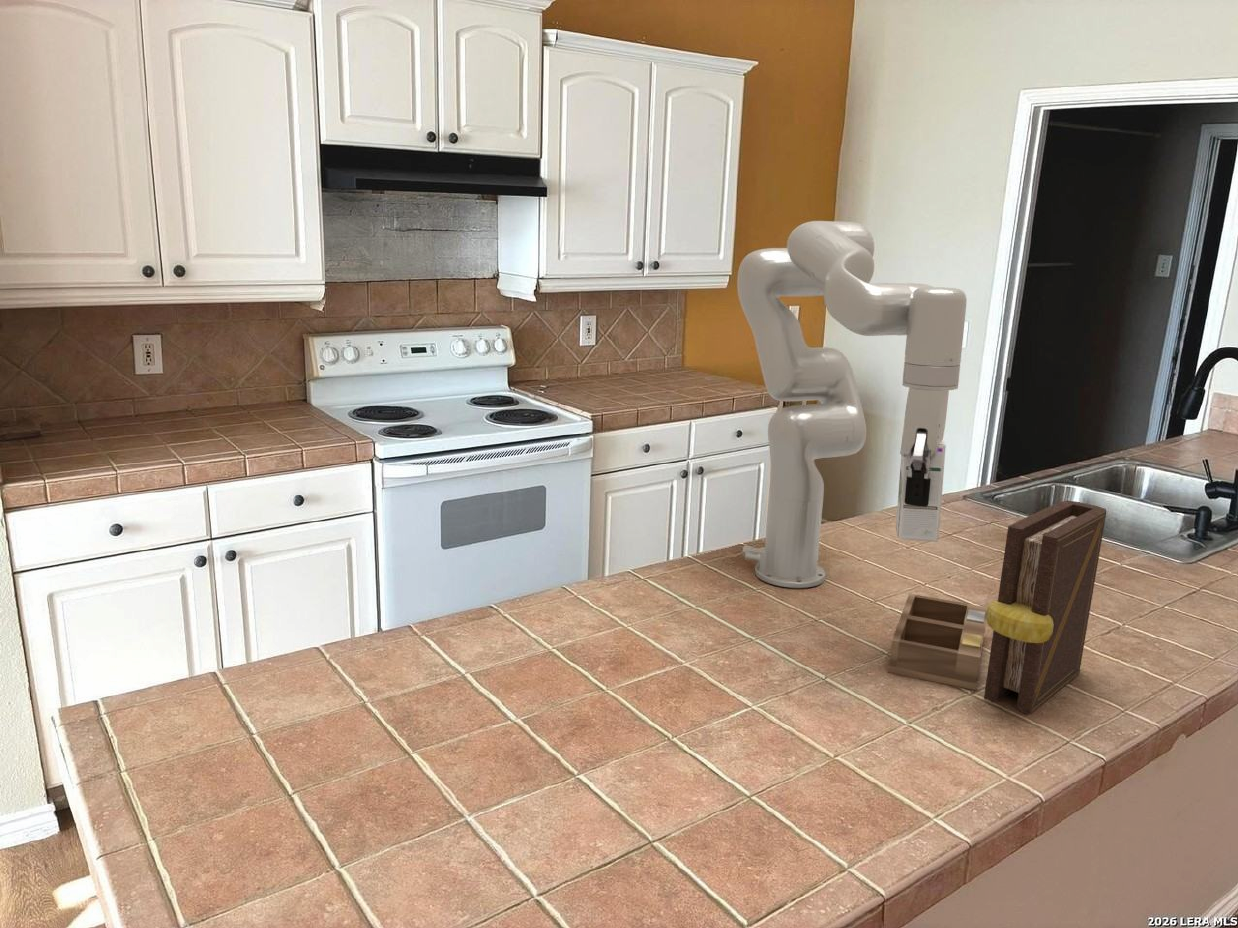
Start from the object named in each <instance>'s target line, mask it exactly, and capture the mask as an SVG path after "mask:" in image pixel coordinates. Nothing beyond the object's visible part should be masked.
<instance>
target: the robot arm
mask: <svg viewBox="0 0 1238 928" xmlns="http://www.w3.org/2000/svg"><path fill="white" fill-rule="evenodd" d="M874 252H875V242H874V238H873V236H872V233H871V232H870V231H869V229H868V228H867V227H866V226H864V225H863V224H861V223H858V222H856V221H835V220H834V221H833V220H832V221H831V220H830V221H828V220H811V221H807V222H804V223H802V224H800V225H798V226H797V227H795V228H794V229H793V230H792V231H791V233H790V234H789V235H788V239H787V242H786V247H770V248H769V247H768V248H761V249H757V250H753V251H752V252H750V253H748V254H747V255H745V256H744V257H743V259H742V261H741V262H740V264H739V268H738V272H737V283H736V284H737V287H736V288H737V295H738V300H739V302H740V303H739V304H740V307H741V310H742V311H743V314H744V316H745V318H746V320H747V323H748V324H749V327H750V329H751V331H752V335H753V337H754V343H755V348H756V352H757V356H758V359H759V360H758V361H759V365H760V369H761V373H762V377H763V381H764V385H765V388H766V391H767V393H768V395H769V396H770V397H771V398H772V399H774V400H775V401H780V402H807V401H809V402H810V401H819V403H820V404H819V403H813V404H811V403H810V404H794V405H789V406H785V407H782V408H780V409H778V410H777V411H775V412H774V413H773V415H772V416H771V418H769V422H768V425H767V440H768V447H769V448H768V449H769V455H770V456H769V457H770V459H769V461H770V470H769V471H770V473H769V474H770V475H769V476H770V479H769V490H768V491H769V492H768V493H769V494H768V507H767V516H766V517H767V519H766V531H765V532H766V534H765V545H764V546H761V547H760V548H759V547H758V548H757V547H754V546H749V545H743V547H742V550H741V551H742V552H741V553H742V554H741V555H742V556H744V559H745V560H746V561H754V562H757V564H756V565H755V567H754V573H755V575H756V576H757V578H758V579H760V580H761V581H763V582H765V583H767V584H771V585H774V586H777V587H783V588H791V589H806V588H813V587H817V586H818V585H820V584H822V583H824V581H825V580H826V571H825V569H824V568H822V566H820V565H818V562H819V561H818V560H819V552H820V551H819V548H820V539H821V538H820V537H821V527H822V515H823V505H824V504H823V503H824V494H825V491H824V490H825V485H824V484H825V483H824V479H823V476H822V475H821V473H820V470H819V469H818V467H817V465H816V463H815V460H818V459H822V458H823V459H824V458H825V459H827V458H839V457H848V456H851V455H854V454H857V453H859V452H860V451H861V450H862V448H863V447H864V446H865V443H866V440H867V424H866V419H865V414H864V410H863V406H862V402H861V398H860V395H859V390H858V387H857V383H856V379H855V378H856V377H855V375H854V372H853V368H852V365H851V363H850V360H848V358H847V357H846V355H845V354H844V353H843V352H842V351H840V350H838V349H836V348H833V347H826V346H825V347H824V346H823V347H811V346H808V344H807V343H806V341H805V338H804V335H803V331H802V327H801V324H800V322H799V319H798V318H797V317H796V315H795V313H793V311H792V310H791V309H790V308H789V306H787V305H786V304H785V303H783V301H782V300H781V299H780V297H820V296H821V297H822V296H823V299H824V300H823V301H824V304H825V307H826V310H827V312H828V314H829V315H830V316H831V317H832V318H833V319H835V321H836V322H838V323H839V324H840V325H842V326H843V327H844V328H846V329H848V330H849V331H851V332H852V333H854V334H857V335H860V336H865V337H871V336H872V337H875V336H876V337H877V336H878V337H879V336H882V337H883V336H906V338H905V339H906V340H905V351H904V363H903V375H902V386H903V387H905V388H909V389H908V392H907V398H906V404H905V411H904V420H903V429H902V437H901V444H900V445H901V446H900V451H899V452H900V455H902V456H903V457H905V455H904V454H907V455H908V454H909V453H910V450H911V448H912V450H911V456H910V464H909V471H908V476H907V481H906V492H905V504H907V505H916V506H924V507H926V506H928V503H929V493H930V482H931V479H929V472H930V465H931V460H932V459H934V458H936V457H937V453H938V449H939V445H940V443H941V441H942V440H943V441H944V435H945V428H946V421H947V411H948V404H949V394H950V391H954V390H958V388H959V383H960V373H961V372H960V371H961V361H962V350H963V342H964V341H963V340H964V332H965V321H966V311H967V295H966V293H965V292H964V291H963V290H961V289H960V288H956V287H941V286H940V287H937V286H932V285H929V284H924V283H913V282H912V283H911V282H910V283H908V282H907V283H905V282H904V283H903V282H902V283H897V282H896V283H895V282H893V283H891V282H890V283H889V282H879V283H878V282H873V283H871V280H872V278H873V276H874V272H875V262H874V254H875V253H874ZM926 439H927V441H926ZM914 448H915V449H914ZM924 453H927V454H928V457H927V456H923V455H924ZM923 462H926V465H925V463H923ZM925 467H926V468H925Z"/></svg>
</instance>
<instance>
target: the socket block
mask: <svg viewBox="0 0 1238 928" xmlns="http://www.w3.org/2000/svg"><path fill="white" fill-rule="evenodd" d="M905 601H906V602H905V603H904V606H903V609H902V612H901V614H900V617H899V620H898V623H897V626H896V628H895V631H894V633H893V635H892V636H893V637H892V639H891V644H890V645H891V646H890V654H889V664H888V673H891V674H896V675H900V676H904V677H909V678H915V679H920V680H925V681H930V682H935V683H939V684H943V685H949V686H954V687H958V688H962V689H968V690H972V691H977V686H978V678H979V673H980V672H979V671H980V666H981V658H982V651H983V645H984V639H985V630H986V625H987V620H986V614H987V609H988V607H989V606H982V605H977V604H971V603H965V602H959V601H955V600H948V599H944V598H943V599H942V598H937V597H931V596H925V595H920V594H913V593H908V596H907V599H906V600H905Z"/></svg>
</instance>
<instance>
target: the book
mask: <svg viewBox="0 0 1238 928" xmlns="http://www.w3.org/2000/svg"><path fill="white" fill-rule="evenodd" d="M1106 516H1107V509H1106V508H1103V507H1101V506H1098V505H1093V504H1090V503H1085V502H1081V501H1076V500H1075V501H1074V500H1059V502H1056V503H1054V504H1052V505H1050V506H1048V507H1046V508H1043V509H1041V510H1039V511H1037V512H1035V513H1033V514H1031V515H1028V516H1027V517H1024V518H1022V519H1020V520H1018V521H1016V522H1013V523H1012V524H1010V525H1008V526H1007V533H1006V540H1005V546H1004V547H1005V549H1004V554H1003V562H1002V568H1001V574H1000V581H999V589H998V590H999V591H998V596H997V597H998V598H997V600H994V601H992V602H990V604H989V605H988V606H987V607H988V609H987V614H986V625H988V626H989V628H990V629H992V630H993V632H992V639H991V645H990V651H989V652H990V653H989V659H988V667H987V675H986V681H985V682H986V683H985V689H984V695H983V697H984V699H985V700H987V701H989V702H991V703H998V702H999V701H1001V700H1002V699H1003V698H1005V697H1006V696H1007V695H1009V694H1010V693H1012V692H1015V693H1017V694H1018V698H1017V705H1016V710H1015V711H1017V712H1018V713H1021V714H1023V715H1026V716H1031V715H1032V713H1034V712H1035V711H1037V710H1038V709H1039V708H1041V706H1043V705H1044V704H1045V703H1046V702H1047V701H1049V700H1050V699H1052V697H1054V696H1055V695H1056V694H1057V693H1058V692H1061V690H1062V689H1063V688H1065V687H1066V686H1067V685H1068V684H1070V683H1071V682H1072V681H1074V680H1075V679H1076V678H1077V677H1079V676H1080V673H1081V666H1082V659H1083V652H1084V646H1085V642H1086V635H1087V630H1088V623H1089V618H1090V611H1091V606H1092V600H1093V593H1094V588H1095V582H1096V575H1097V569H1098V564H1099V559H1100V553H1101V546H1102V541H1103V534H1104V527H1105V523H1106Z"/></svg>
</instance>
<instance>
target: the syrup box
mask: <svg viewBox="0 0 1238 928" xmlns="http://www.w3.org/2000/svg"><path fill="white" fill-rule="evenodd" d="M926 441H927V439H926ZM946 447H947V445H946V443H945V441H944V439H943V440H942V441H941V443H940V445H939V449H938V453H937V457H936V458H934V459H932V460H931V465H930V472H929V479H931V482H930V493H929V503H928V506H926V507H924V506H916V505H907V504H905V492H906V481H907V476H908V471H909V464H910V456H911V450H912V448H911V450H910V453H909V454H908V455H907V454H904V455H905V457H903V456H902V455H901V454H900V455H901V456H900V464H899V465H900V466H899V467H900V468H899V481H898V494H897V495H898V496H897V508H896V522H895V523H896V524H895V529H896V533H897V538H898V539H900V540H905V541H917V542H931V543H938V542H939V541H938V540H939V536H940V535H939V533H940V525H941V524H940V523H941V511H942V503H943V502H942V501H943V484H944V474H945V473H944V472H945V458H946ZM914 449H915V448H914ZM923 456H927V457H928V454H927V453H924V455H923ZM923 463H925V465H926V462H923ZM925 468H926V467H925Z"/></svg>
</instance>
